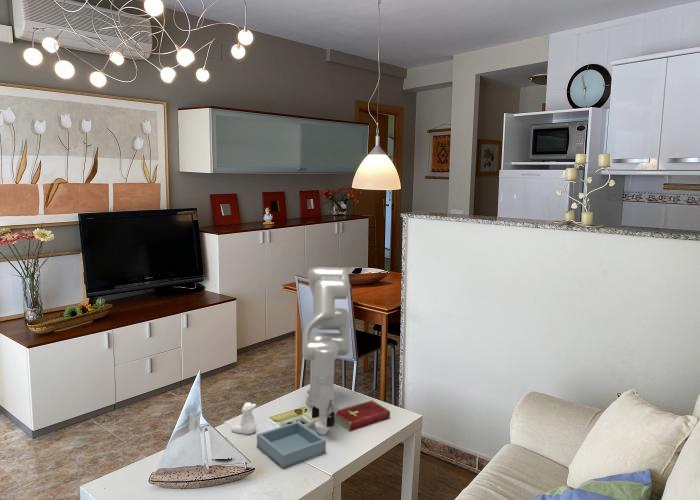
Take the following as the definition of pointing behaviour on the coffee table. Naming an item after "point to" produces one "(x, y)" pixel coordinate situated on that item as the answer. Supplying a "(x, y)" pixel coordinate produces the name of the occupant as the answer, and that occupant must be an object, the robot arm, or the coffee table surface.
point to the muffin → (321, 425)
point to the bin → (291, 444)
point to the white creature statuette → (246, 420)
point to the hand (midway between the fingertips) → (322, 421)
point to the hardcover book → (361, 415)
